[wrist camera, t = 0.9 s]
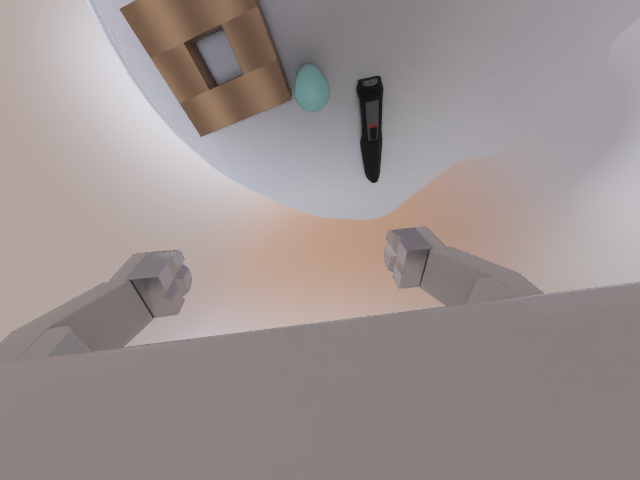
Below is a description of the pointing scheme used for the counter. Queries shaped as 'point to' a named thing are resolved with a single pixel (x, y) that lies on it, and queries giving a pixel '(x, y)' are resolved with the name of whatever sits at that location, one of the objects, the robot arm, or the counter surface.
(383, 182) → the counter surface
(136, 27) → the socket block
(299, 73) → the peg
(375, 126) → the electric trimmer
